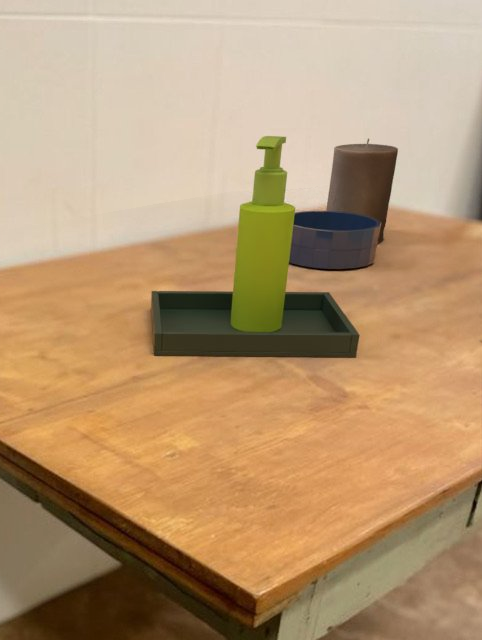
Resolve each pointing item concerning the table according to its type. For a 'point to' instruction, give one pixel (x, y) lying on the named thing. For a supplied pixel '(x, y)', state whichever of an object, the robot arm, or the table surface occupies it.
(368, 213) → the pillar candle
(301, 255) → the bowl
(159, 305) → the tray
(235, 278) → the soap dispenser
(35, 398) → the table surface
